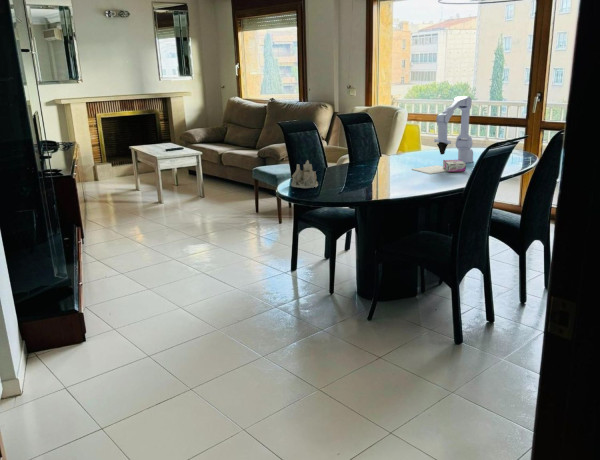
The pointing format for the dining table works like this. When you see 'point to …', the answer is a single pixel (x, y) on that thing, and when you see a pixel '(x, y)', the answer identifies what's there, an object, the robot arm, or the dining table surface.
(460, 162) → the candy bar box
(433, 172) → the mat
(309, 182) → the white castle figurine
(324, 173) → the dining table surface
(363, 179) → the dining table surface
